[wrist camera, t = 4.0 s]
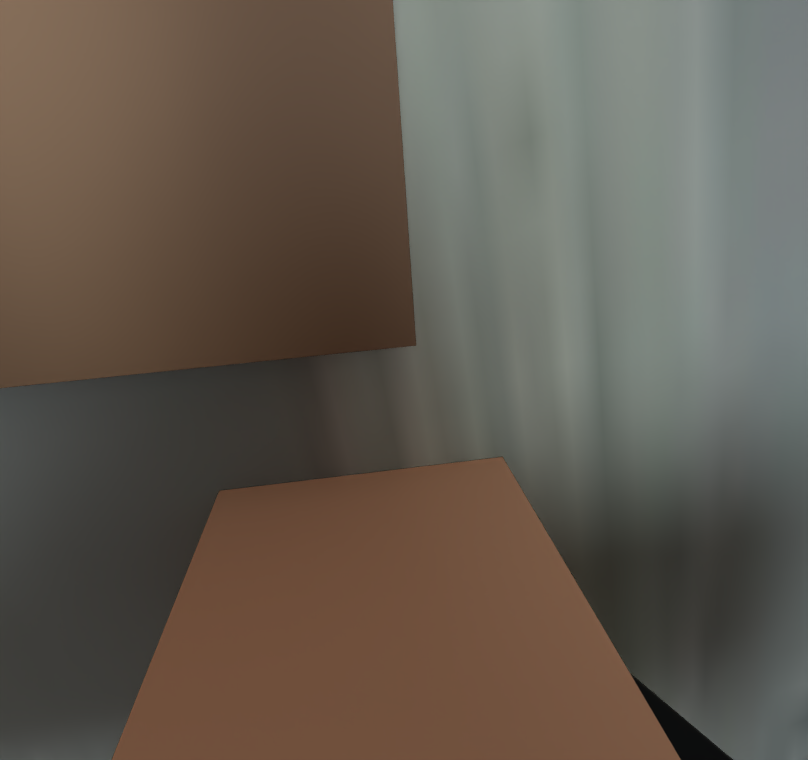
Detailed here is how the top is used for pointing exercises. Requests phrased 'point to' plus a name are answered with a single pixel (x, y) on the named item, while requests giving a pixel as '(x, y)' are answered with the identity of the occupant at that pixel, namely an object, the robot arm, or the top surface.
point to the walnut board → (198, 185)
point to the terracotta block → (386, 632)
